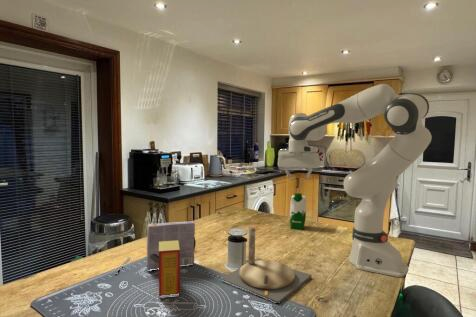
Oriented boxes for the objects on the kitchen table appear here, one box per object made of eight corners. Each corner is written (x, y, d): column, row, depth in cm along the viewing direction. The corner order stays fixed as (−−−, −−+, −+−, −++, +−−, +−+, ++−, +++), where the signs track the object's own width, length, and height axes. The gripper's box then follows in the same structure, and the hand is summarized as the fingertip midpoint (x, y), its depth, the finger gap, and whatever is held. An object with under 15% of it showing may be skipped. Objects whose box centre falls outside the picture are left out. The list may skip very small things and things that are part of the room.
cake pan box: (194, 261, 130) (194, 219, 128) (197, 265, 125) (197, 222, 123) (146, 267, 123) (146, 223, 121) (147, 272, 118) (147, 227, 116)
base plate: (311, 277, 116) (311, 274, 116) (278, 304, 97) (278, 300, 97) (258, 260, 131) (258, 257, 131) (220, 281, 112) (220, 277, 112)
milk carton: (288, 229, 175) (289, 193, 173) (290, 224, 184) (291, 191, 182) (304, 230, 172) (305, 195, 171) (305, 226, 181) (306, 192, 180)
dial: (289, 264, 124) (290, 226, 123) (299, 289, 104) (300, 244, 103) (239, 263, 124) (240, 225, 123) (239, 288, 104) (240, 243, 103)
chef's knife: (136, 256, 135) (129, 256, 134) (137, 253, 134) (129, 253, 134) (122, 276, 116) (114, 276, 115) (122, 273, 115) (114, 273, 115)
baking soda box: (159, 284, 109) (159, 240, 107) (178, 283, 110) (178, 239, 109) (159, 299, 100) (158, 250, 98) (179, 296, 101) (179, 248, 100)
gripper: (275, 148, 150) (275, 177, 150) (316, 147, 138) (316, 178, 138) (281, 149, 155) (281, 176, 155) (321, 148, 143) (321, 178, 143)
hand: (298, 177), depth 146 cm, fingers open, 8 cm apart
